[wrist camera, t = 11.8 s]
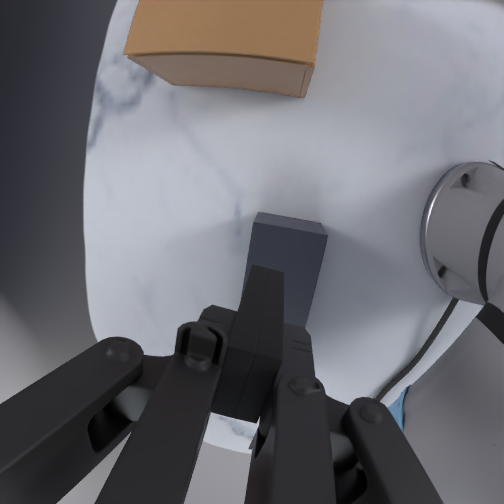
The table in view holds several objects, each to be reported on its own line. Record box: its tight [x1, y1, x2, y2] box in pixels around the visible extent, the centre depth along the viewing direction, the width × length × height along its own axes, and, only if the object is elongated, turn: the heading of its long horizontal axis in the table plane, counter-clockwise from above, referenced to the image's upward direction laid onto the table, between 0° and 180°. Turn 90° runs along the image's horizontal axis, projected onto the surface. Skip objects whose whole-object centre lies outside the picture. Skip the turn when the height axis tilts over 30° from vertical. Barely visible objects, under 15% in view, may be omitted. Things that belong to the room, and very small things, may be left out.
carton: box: [123, 0, 323, 98], centre depth 18 cm, size 15×13×10 cm
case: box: [241, 212, 328, 328], centre depth 28 cm, size 14×6×5 cm, turn 170°
